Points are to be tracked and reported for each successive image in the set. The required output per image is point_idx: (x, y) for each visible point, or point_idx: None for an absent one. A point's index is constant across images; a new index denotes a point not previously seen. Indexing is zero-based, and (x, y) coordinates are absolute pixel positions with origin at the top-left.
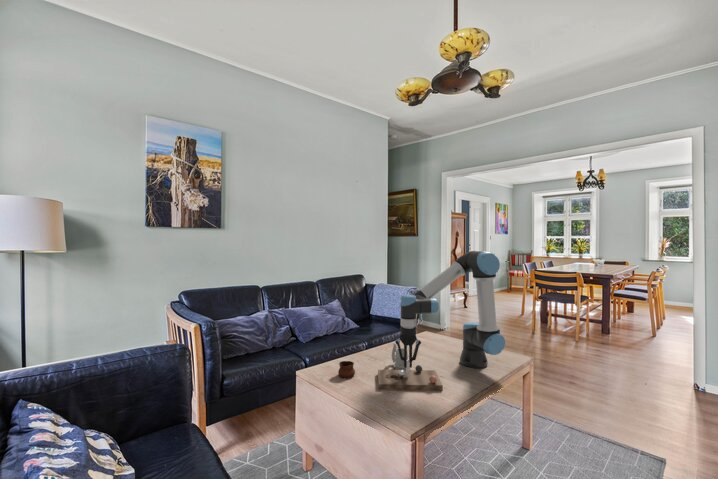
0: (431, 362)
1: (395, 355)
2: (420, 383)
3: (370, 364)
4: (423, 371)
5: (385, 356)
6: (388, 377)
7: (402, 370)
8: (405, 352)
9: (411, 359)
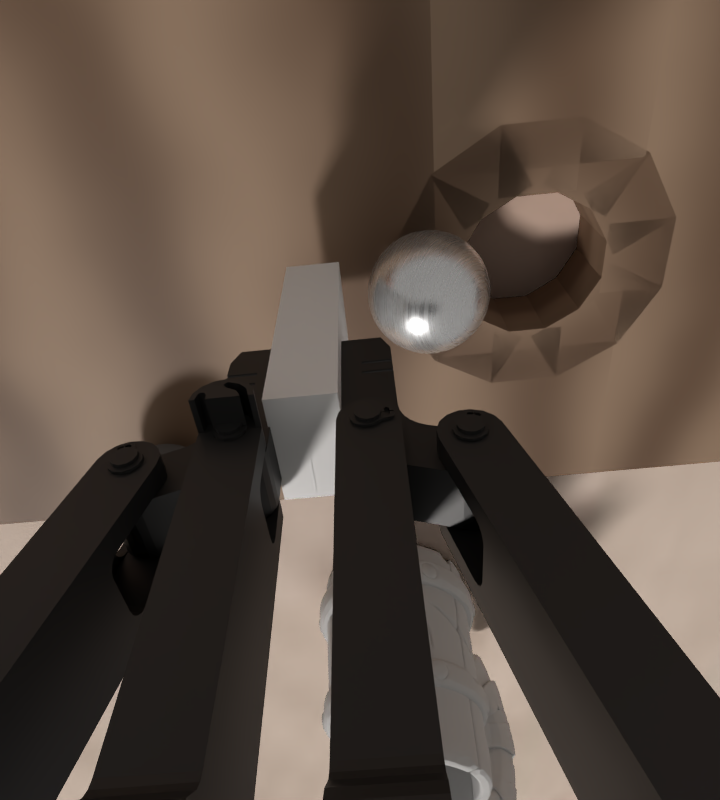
0: (112, 705)
1: (486, 711)
2: (75, 39)
3: (705, 614)
4: None
5: (527, 744)
6: (632, 228)
7: (416, 316)
8: (382, 590)
9: (209, 447)
